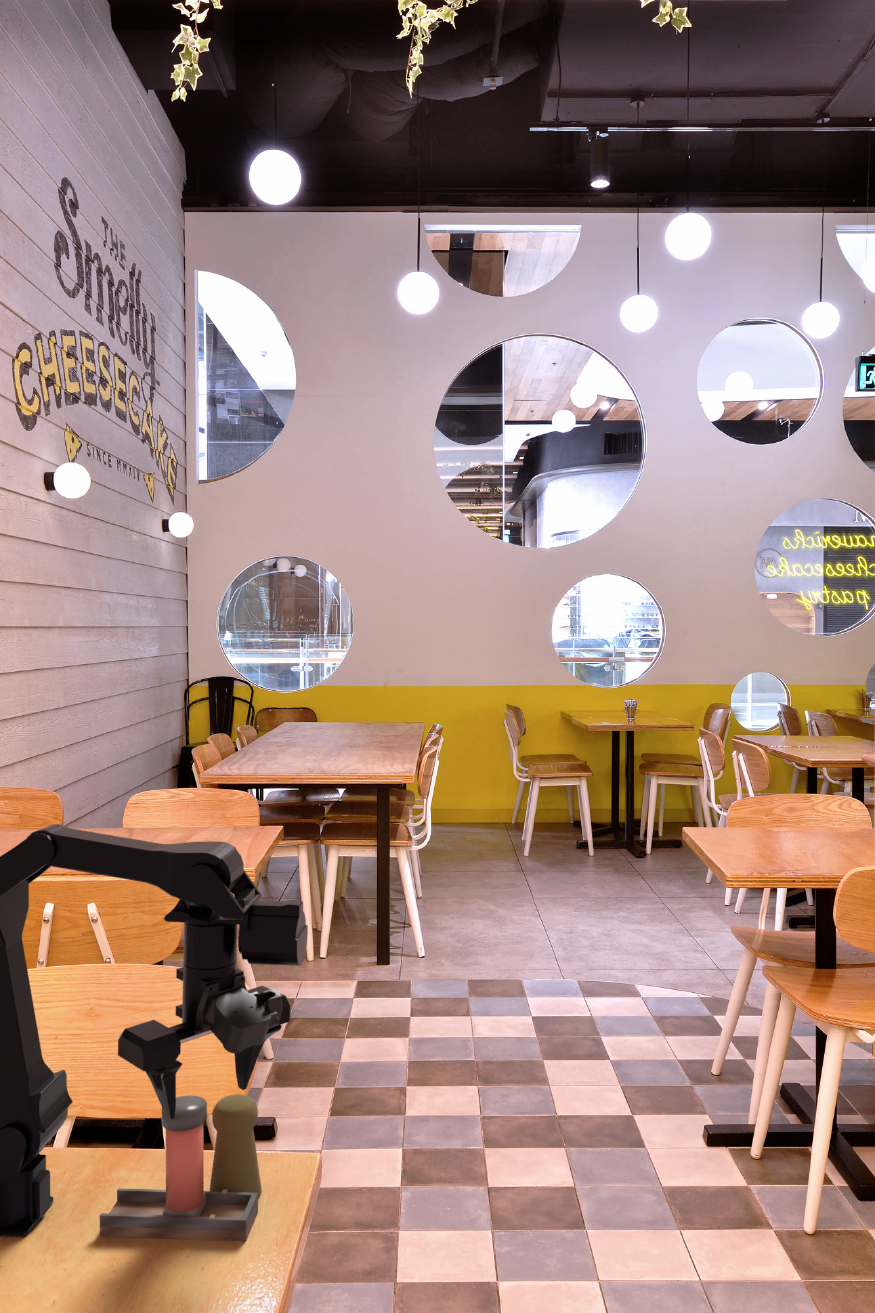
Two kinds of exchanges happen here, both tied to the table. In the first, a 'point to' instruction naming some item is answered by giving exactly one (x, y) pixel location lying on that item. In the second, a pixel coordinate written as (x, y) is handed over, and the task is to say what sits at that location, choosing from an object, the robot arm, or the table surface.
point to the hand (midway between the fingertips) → (207, 1102)
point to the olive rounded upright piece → (235, 1146)
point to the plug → (185, 1157)
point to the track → (145, 1216)
